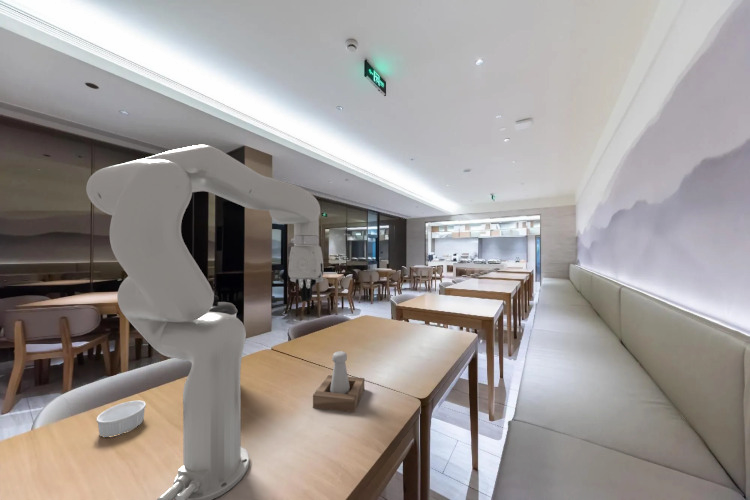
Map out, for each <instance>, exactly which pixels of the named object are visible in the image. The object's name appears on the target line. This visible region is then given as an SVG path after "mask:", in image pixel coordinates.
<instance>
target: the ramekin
mask: <svg viewBox="0 0 750 500" xmlns="http://www.w3.org/2000/svg"><path fill="white" fill-rule="evenodd" d="M146 406H147V404H146V402H145V400H139V399H138V400H130V401H126V402H125V401H124V402H122V403H118V404H116V405H112V406H111V407H109V408H107V409H105V410H104V411H102V412H100V413H99V414H98V415H97V416H96V423H97V427H98V434H99V437H101V436H104V437H103V438H105V437H109V436H114V435H118V434H122V433H124V432H127V431H129V432H131V431H133V430H135V429H136V428H138V427H139V426H140V425H141V424H142V423H143V421H144V417H145V408H146ZM138 425H139V426H138ZM137 426H138V427H137ZM135 427H136V428H135ZM134 428H135V429H134ZM132 429H133V430H132ZM130 430H131V431H130ZM127 433H128V432H127ZM122 435H123V434H122Z"/></svg>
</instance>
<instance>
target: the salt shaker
mask: <svg viewBox="0 0 750 500" xmlns="http://www.w3.org/2000/svg"><path fill="white" fill-rule="evenodd" d="M347 359H348V354H347V353H346V352H345V351H341V350H340V351H335V352H334V353H333V354H332V362H334V363H333V370H332V381H331V388H330V392H332V393H342V394H348V392H349V390H350V385H349V380H348V377H349V376H348V370H347V365H346V361H347Z"/></svg>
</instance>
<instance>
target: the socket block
mask: <svg viewBox="0 0 750 500" xmlns="http://www.w3.org/2000/svg"><path fill="white" fill-rule="evenodd" d="M332 375H333V374H332ZM332 375H331V374H329V375H327V377H326V378H324V380H323V382H321V384H320V386H318V388H317V389H316V390H315V392H314V393H313V394H312V408H313V409H320V410H331V411H339V412H348V413H355V412H356V410H357V407H358V405H359V403H360V400H361V398H362V396H363V394H364V391H365V378H364V377H356V376H355V377H354V376H348V380H349V385H350V390H349V392H348V394H342V393H332V392H330V388H331V381H332Z"/></svg>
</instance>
